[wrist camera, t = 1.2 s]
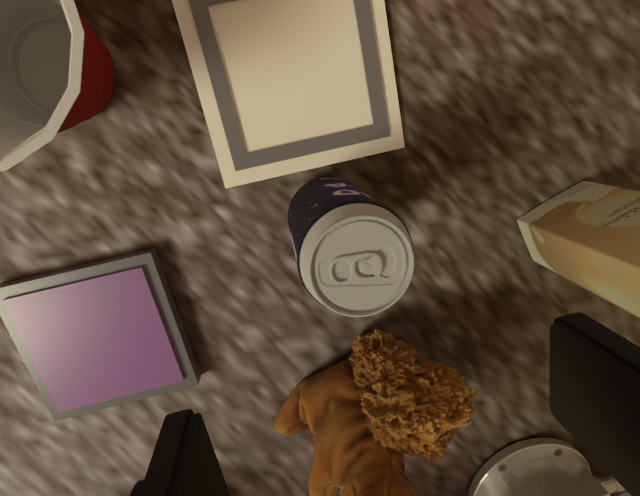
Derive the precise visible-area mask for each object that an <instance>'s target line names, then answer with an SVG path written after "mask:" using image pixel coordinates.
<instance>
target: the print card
mask: <svg viewBox="0 0 640 496" xmlns="http://www.w3.org/2000/svg"><path fill="white" fill-rule="evenodd" d="M172 3H173V7H174V10H175V14H176V17H177V21H178V24H179V28H180V31H181V35H182V38H183V42H184V45H185V49H186V52H187V56H188V59H189V63H190V66H191V70H192V73H193V77H194V80H195V84H196V87H197V91H198V94H199V98H200V101H201V105H202V108H203V112H204V115H205V119H206V122H207V126H208V129H209V133H210V136H211V140H212V143H213V147H214V150H215V154H216V157H217V161H218V164H219V168H220V171H221V175H222V178H223V181H224V185H225V188H230V187H234V186H238V185H243V184H247V183H252V182H256V181H260V180H265V179H269V178H273V177H278V176H282V175H287V174H291V173H295V172H300V171H304V170H308V169H313V168H317V167H322V166H326V165H330V164H335V163H339V162H343V161H348V160H352V159H356V158H361V157H365V156H370V155H374V154H378V153H383V152H387V151H391V150H396V149H400V148H405V145H404V138H403V131H402V123H401V116H400V109H399V102H398V95H397V88H396V80H395V73H394V66H393V59H392V52H391V45H390V38H389V30H388V23H387V16H386V9H385V2H384V0H172Z"/></svg>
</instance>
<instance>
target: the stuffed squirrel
mask: <svg viewBox="0 0 640 496" xmlns="http://www.w3.org/2000/svg"><path fill="white" fill-rule="evenodd" d="M352 349H353V353H352V354H351V355H350V356H349V359H345V360H342V361H341V362H339V363H337V364H335V365H333V366H331V367H329V368H327V369H325V370H323V371H321V372H319V373H317V374H315V375H313V376H310V377H308V378H306V379H304V380H302V381H301V382H300V383H299V384H298V385H297V386H296V388H295V389H294V390H293V391H292V393H291V394H290V395H289V396H288V398H287V399H286V400H285V402H284V403H283V405H282V406H281V408H280V410H279V412H278V414H277V416H276V418H275V421H274V427H275V429H276V430H277V431H278V432H280V433H281V434H283V435H292V434H297V433H300V432H303V431H307V430H309V429H310V431H311V433H312V434H313V440H314V441H315V447H314V455H313V459H312V464H311V468H310V473H309V480H308V489H309V496H337V494H338V492H339V490H340V488H341V489H342V495H341V496H418V495H417V493H416V492H415V490H414V489H413V488H412V487H411V483H410V481H409V479H408V478H407V477H406V475H405V462H404V458H403V457H404V453H406V454H409V455H414V454H417V455H419V457H421V458H424V459H425V458H426V459H427V460H429V461H430V460H433V459H435V460H438V461H439V460H440V459H441V458H442V457H444V454H443V452H442V451H441V450H443V449H447V446H446V445H447V444H449V443H450V442H451V439H452V436H454V435H455V434H457V433H458V431H459V428H460V427H466V426H468V425H470V424H471V423H472V420H471V419H470V417H473V414H474V412H475V411H476V410H475V409H477V408H474V407H472V406H473V405H474V404H473V403H471V400H472V399H474V397H475V395H478V394H480V393H479V392H480V391H479V390H475V389H473V388H470V387H469V386H465V385H464V383H465V382H466V381H464V380H463V379H464V377H465V376H460V375H458V374H457V371H456V369H453V368H452V367H451V366H448V364H444V363H438V362H434V361H430V360H423V359H422V358H420V357H419V356H418V351H417V350H416V349H415V347H414V346H412V345H411V344H410V343H405V342H403V341H401V340H396V339H395V338H394V336H393V334H391V333H390V332H388V333H386V332H385V331H382V330H381V331H380V330H377V329H375V331H373V332H370V331H369V332H367V333H366V334H364V335H361V336H359V335H358V338H357V339H356V340H355V341H354V342H353V346H352Z"/></svg>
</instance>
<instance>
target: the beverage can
mask: <svg viewBox="0 0 640 496" xmlns="http://www.w3.org/2000/svg"><path fill="white" fill-rule="evenodd" d="M288 224H289V229H290V233H291V238H292V243H293V247H294V252H295V257H296V262H297V266H298V271H299V275H300V278H301V281H302V283H303V285H304V287H305V289H306V290H307V291H308V293H309V294H310V295H311V296H312V297H313V298H314V299H315V300H316V301H317V302H319V303H320V304H322V305H323V306H325V307H327V308H329V309H330V310H332V311H334V312H336V313H339V314H341V315H345V316H349V317H366V316H371V315H374V314H377V313H380V312H382V311H384V310H386V309H388V308H389V307H391V306H392V305H393V304H395V303H396V302H397V301H398V300H399V299H400V298H401V297H402V295H403V294H404V293H405V291H406V290H407V288H408V286H409V284H410V282H411V279H412V276H413V271H414V253H413V244H412V240H411V236H410V234H409V231H408V229H407V227H406V226H405V224H404V223H403V221H402V220H401V219H400V218H399V217H398V216H397V215H396V214H395V213H394V212H392V211H391V210H390V209H388V208H387V207H385V206H383V205H382V204H380V203H379V202H377V201H376V200H374V199H373V198H371V197H370V196H368V195H367V194H365V193H364V192H362V191H361V190H359V189H358V188H356V187H355V186H353V185H351V184H350V183H348V182H347V181H345V180H342V179H339V178H335V177H322V178H317V179H314V180H312V181H310V182H308V183H306V184H305V185H304V186H302V187H301V188H300V189H299V190H298V191H297V193H296V194H295V195H294V197H293V199H292V201H291V203H290V206H289V210H288Z"/></svg>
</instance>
